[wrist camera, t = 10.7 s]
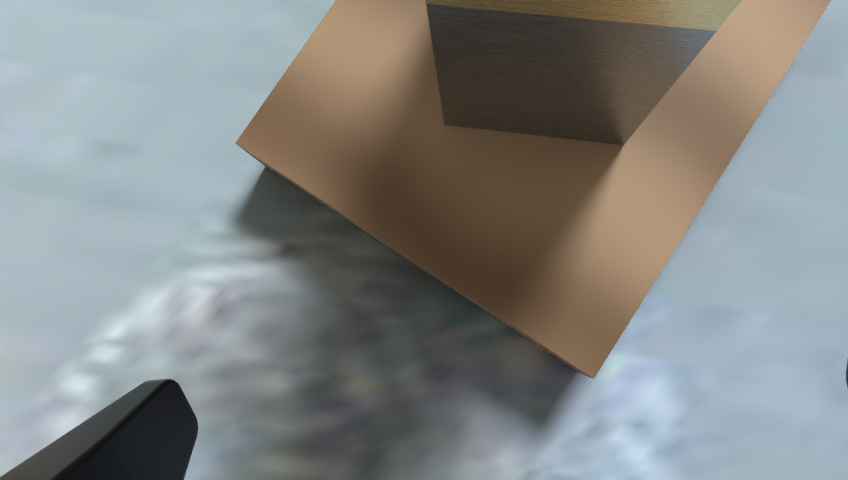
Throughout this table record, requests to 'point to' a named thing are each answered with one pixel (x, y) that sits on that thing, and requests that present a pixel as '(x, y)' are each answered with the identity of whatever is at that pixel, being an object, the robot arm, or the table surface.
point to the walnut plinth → (516, 168)
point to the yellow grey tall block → (565, 61)
